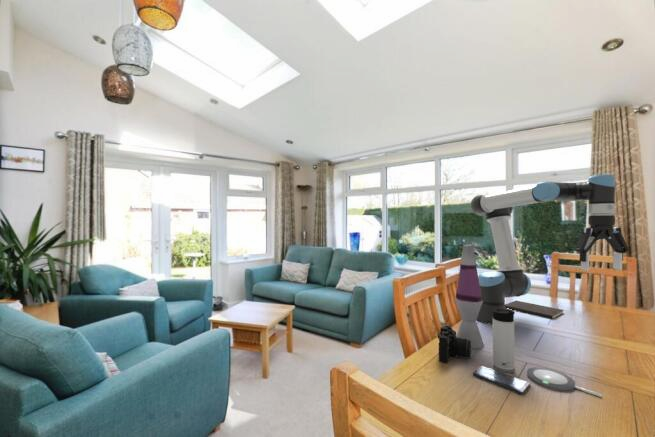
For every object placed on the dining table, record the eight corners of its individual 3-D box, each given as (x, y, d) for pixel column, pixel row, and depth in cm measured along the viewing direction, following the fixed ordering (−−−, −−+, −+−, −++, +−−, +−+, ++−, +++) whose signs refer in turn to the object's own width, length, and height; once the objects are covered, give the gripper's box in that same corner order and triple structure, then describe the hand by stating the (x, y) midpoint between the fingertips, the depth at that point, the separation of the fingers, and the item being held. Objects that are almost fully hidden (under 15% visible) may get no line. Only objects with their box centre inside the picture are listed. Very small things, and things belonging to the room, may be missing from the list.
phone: (472, 375, 95) (472, 372, 95) (481, 368, 99) (481, 365, 99) (522, 395, 84) (522, 391, 84) (530, 386, 89) (530, 382, 89)
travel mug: (508, 375, 95) (507, 313, 95) (489, 366, 101) (488, 308, 101) (519, 370, 98) (519, 310, 98) (500, 362, 104) (499, 305, 104)
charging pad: (521, 379, 93) (521, 375, 93) (533, 366, 100) (533, 363, 100) (598, 406, 79) (598, 402, 79) (605, 389, 87) (604, 385, 87)
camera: (468, 369, 99) (467, 339, 99) (435, 361, 105) (435, 333, 105) (472, 353, 111) (472, 326, 111) (442, 346, 117) (442, 321, 117)
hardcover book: (516, 304, 175) (516, 300, 175) (563, 314, 156) (563, 309, 156) (503, 309, 166) (503, 305, 166) (552, 320, 147) (552, 315, 147)
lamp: (457, 335, 127) (456, 243, 128) (485, 341, 121) (484, 244, 121) (452, 344, 119) (451, 245, 119) (482, 351, 112) (480, 246, 113)
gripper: (580, 215, 109) (580, 272, 109) (642, 214, 111) (641, 270, 111) (562, 215, 116) (562, 268, 116) (620, 214, 118) (620, 267, 118)
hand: (601, 269), depth 114 cm, fingers open, 13 cm apart
